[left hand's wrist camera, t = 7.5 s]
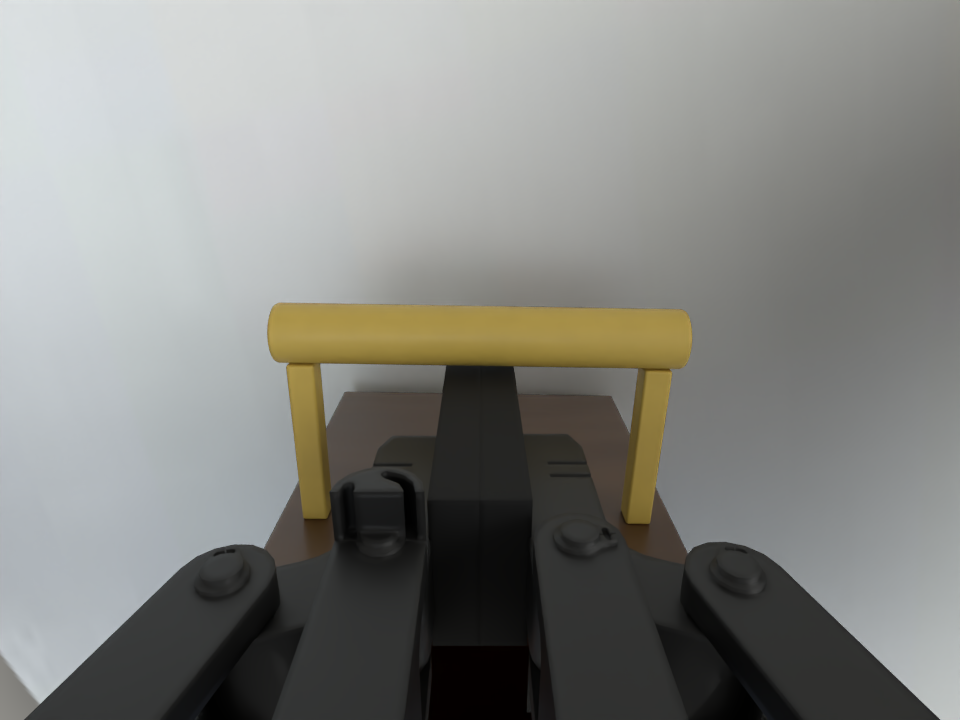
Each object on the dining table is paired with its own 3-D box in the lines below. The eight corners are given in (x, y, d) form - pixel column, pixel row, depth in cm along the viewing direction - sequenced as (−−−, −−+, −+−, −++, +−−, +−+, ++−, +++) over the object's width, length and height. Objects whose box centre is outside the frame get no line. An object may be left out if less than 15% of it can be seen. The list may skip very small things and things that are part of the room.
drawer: (333, 242, 19) (198, 346, 10) (627, 247, 19) (760, 355, 10) (369, 725, 27) (313, 1024, 18) (575, 728, 27) (622, 1027, 18)
